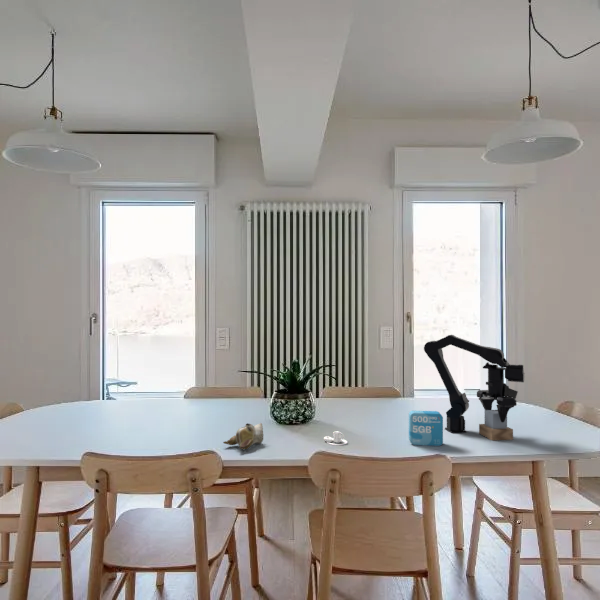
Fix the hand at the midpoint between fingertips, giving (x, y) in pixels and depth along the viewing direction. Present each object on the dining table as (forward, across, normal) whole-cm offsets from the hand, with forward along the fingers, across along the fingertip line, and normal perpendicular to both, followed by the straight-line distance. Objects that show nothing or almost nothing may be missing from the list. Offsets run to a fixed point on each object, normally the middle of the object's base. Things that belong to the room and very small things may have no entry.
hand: (495, 419), depth 179 cm
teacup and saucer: (+8, +5, +65) cm, 66 cm away
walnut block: (+7, 0, 0) cm, 7 cm away
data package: (+7, -5, +32) cm, 33 cm away
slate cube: (+3, 0, 0) cm, 3 cm away
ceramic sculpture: (+7, +1, +99) cm, 99 cm away
